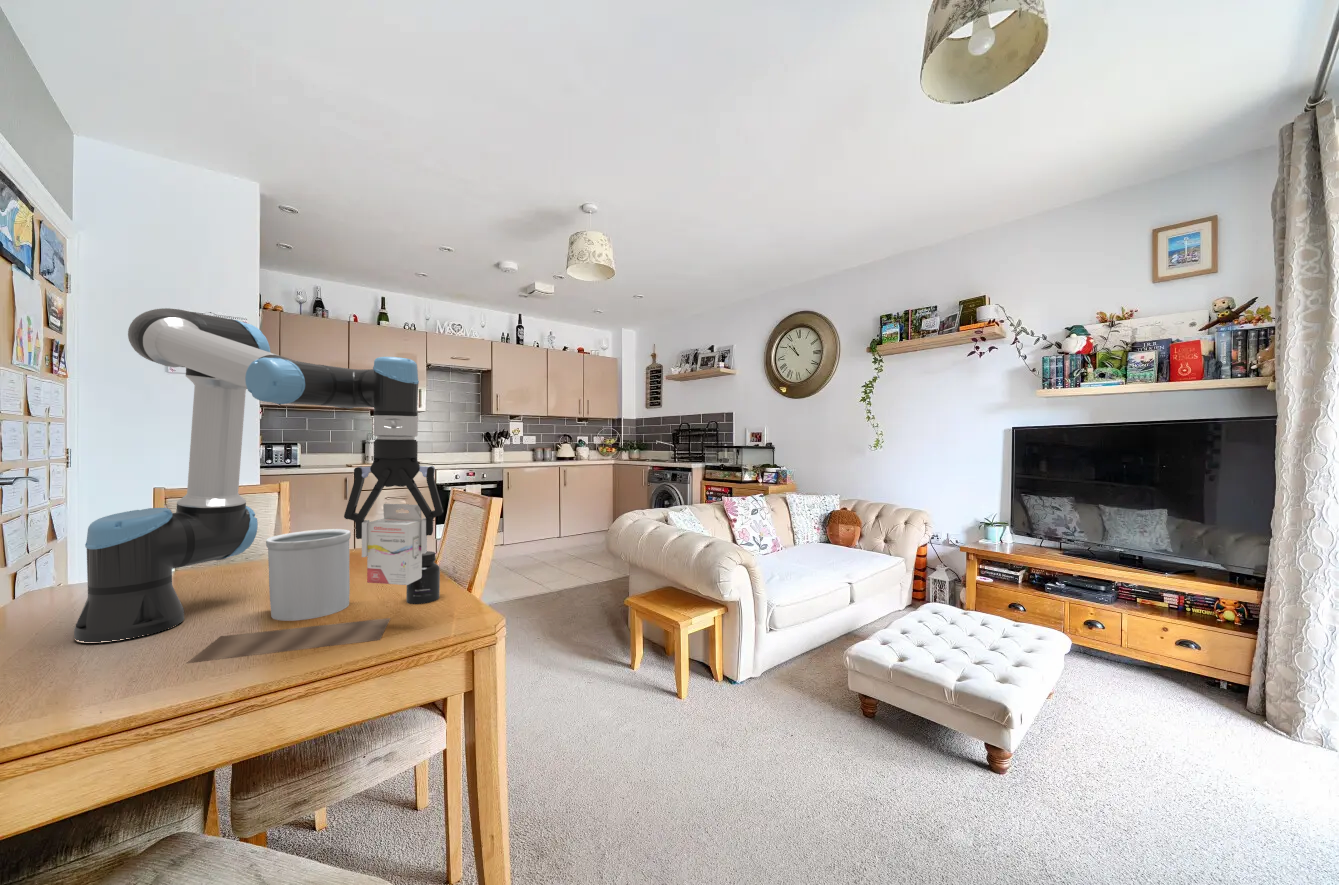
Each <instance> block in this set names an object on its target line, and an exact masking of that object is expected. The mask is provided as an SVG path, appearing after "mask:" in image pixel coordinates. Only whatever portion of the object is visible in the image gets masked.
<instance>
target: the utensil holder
mask: <svg viewBox="0 0 1339 885" xmlns="http://www.w3.org/2000/svg"><path fill="white" fill-rule="evenodd" d="M350 539H351V530H349V529H343V528H329V529H328V528H327V529H326V528H325V529H313V530H311V529H310V530H303V531H295V532H288V533H283V534H279V535H274V536H270V537H268V538H266V540H265V545H266V548H267V556H268V558H267V559H268V561H267V562H268V584H269V585H268V587H269V603H270V604H269V606H270V616H271V618H272V619H273V620H276V621H284V622H285V621H286V622H287V621H288V622H291V621H292V622H294V621H304V620H311V619H316V618H318V619H319V618H321V617H326V616H329V615H333V614H336V613H338V612H341V611H343V610H345V609H346V608H348V607H349V605H350V594H351V593H350V592H351V591H350V590H351V589H350Z"/></svg>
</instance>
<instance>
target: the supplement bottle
mask: <svg viewBox="0 0 1339 885" xmlns="http://www.w3.org/2000/svg"><path fill="white" fill-rule="evenodd" d="M435 561H436V552H435V551H429V550H427V551H426V553H424V554H422V577H421V579H419V580H417V581H415V582H413V583H411V584H409V585H406V603H407V604H410V605H424V604H425V605H426V604H429V603H433V602H436V601H438V600H439V599H440V593H441V592H440V587H441V584H440V582H441V580H440V579H441V577H440V576H441V575H440V574H441V568H440V565H439V564H437V563H436V562H435Z"/></svg>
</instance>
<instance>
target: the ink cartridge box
mask: <svg viewBox="0 0 1339 885" xmlns="http://www.w3.org/2000/svg"><path fill="white" fill-rule="evenodd" d="M382 508H383V518H380V519H377V520H373V521H369V522H368V556H367V557H366V558H367V562H366V563H367V564H366V565H367V566H366V570H367V572H366V577H367V578H366V582H367V583H369V584H370V583H371V584H385V585H399V586H407V585H409V584H411V583H413V582H415V581H417V580H419V579H421V577H422V554H421V525H422V519H423V518H422V511H421V509H420V507H419V506H418V504H410V503H409V504H407V503H405V504H404V503H387V502H386V503H383V505H382ZM402 509H403V510H404V511H408V512H397V510H398V511H399V510H402Z"/></svg>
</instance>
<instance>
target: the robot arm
mask: <svg viewBox="0 0 1339 885" xmlns="http://www.w3.org/2000/svg"><path fill="white" fill-rule="evenodd" d="M127 339H128V342H129V343H130V346H131V347H132V348H133V350H134V352H136V353H137V354H138V355H140V357H143V358H145V360H147V361H150V362H154V363H156V364H159V365H162V366H166V367H170V368H185V377H186V378H187V379H188V380H189V381H190V382H191V383H193V385H194V389H193V404H192V417H191V432H190V444H189V447H190V448H189V457H188V458H189V460H188V476H187V488H186V494H185V495H184V496H183V497H181V498H179V499H178V500H176V512H172V511H171V510H172V509H170V508H167V507H152V508H151V507H150V508H149V507H148V508H143V509H134V510H130V511H127V510H126V511H123V512H117V513H113V514H110V515H105V516H102V517H99V518H97V519H95V520H94V521H92V522H91V523H90V524H89V526H88V528H87V532H86V533H87V534H86V542H85V544H84V545H85V548H86V567H87V568H86V572H87V574H86V577H87V579H86V580H87V598H86V600H85V603H84V605H83V608H82V610H81V612H80V615H79V617H78V619H77V621H76V623H75V626H74V628H73V629H74V630H73V632H74V635H73V639H74V638H75V639H76V640H79V641H84V642H101V641H112V640H120V639H126V638H133V637H138V636H142V635H147V634H151V635H153V634H152V633H155V634H157V633H156V632H158V633H160V632H159V631H162V630H165V629H168V628H170V629H172V628H171V627H173V626H175V625H177V626H178V624H179V623H181V622H182V621H183V620H185V610H184V609H185V608H184V607H183V604H182V603H181V600H180V598H179V596H178V594H177V592H176V589H175V587H174V586H173V570H174V569H179V568H184V567H188V566H193V565H197V564H203V563H208V562H212V561H213V562H214V561H223V560H225V559H227V558H230V557H234V556H238V555H241V554H244V553H245V551H246V550H248V549H250V547H251V545H252V544H253V543H254V541H255V539H256V537H257V533H258V528H259V527H258V524H259V523H258V518H257V517H255V516H256V513H255V511H254V509H252V508H251V507H250V506H248V505H247V499H245V498H244V497H243V496H242V495H241V494H240V493H239V488H240V487H239V485H240V474H241V457H242V446H243V431H244V421H245V420H244V418H245V408H246V407H245V406H246V393H247V392H249V393H251V395H252V397H253V398H254V399H256V400H257V401H260V402H264V403H265V402H267V403H272V404H276V405H286V404H289V405H309V406H322V407H323V406H325V407H326V406H327V407H335V408H339V409H353V408H354V409H355V408H357V409H358V408H360V409H361V408H373V436H375V437H376V439H374V440H373V462H372V464H371V465H370V466H356V467H355V468H354V469H353V474H354V481H353V485H352V488H351V491H350V494H349V498H348V501H347V505H346V508H345V512H344V514H343V517H344V519H345V520H350V521H353V522H354V523H355V539H357V540H360V539H361V558H367V556H368V522H370V520H369V519H367V520H365V519H366V517H367V515H368V513H369V512H370V511H371V510H372V508H373V506H374V504H375V503H376V500H377V499H378V497H379V495H380V494H381V493H382V491H383V489H384V487H385V488H390V487H392V488H393V487H399V488H400V487H401V488H402V487H406V488H407V490H408V491H409V492H410V494H411V496H412V497H413V499H414V501H415V502H416V505H418V506H419V507H420V509H421V513H422V514H423V516H424V517H422V518H421V519H422V525H421V554H424V553H426V551H428V536H432V535H433V533H434V518H437V517H441V516H442V515H443V513H444V508H443V505H442V501H441V498H440V494H439V490H438V487H437V483H436V480H435V472H436V471H435V470H436V468H435V466H433V465H431V466H425V465H420V463H419V461H418V460H419V459H418V451H419V450H418V449H419V448H418V447H419V446H418V444H419V443H418V441H417V439H415V437H418V434H419V433H418V428H419V426H418V424H419V423H418V422H419V420H418V418H419V415H418V404H419V403H418V402H419V401H418V400H419V399H418V397H419V396H418V395H419V394H418V393H419V384H420V380H419V373H418V372H419V371H418V364H417V362H416V361H415V360H414V359H411V358H406V357H399V356H398V357H396V356H380V357H379V356H378V357H376V358H375V359H374V360H373V367H372V369H362V368H360V369H357V368H356V369H353V368H346V367H340V366H332V365H326V364H315V363H310V362H304V361H299V360H295V359H292V358H289V357H284V356H281V355H279V354H276V353H273V352H271V347H270V344H269V341H268V339H267V337H266V335H264V334H263V331H262V330H261V329H260V328H258V327H257V326H255V325H253V324H250V323H247V322H244V321H239V320H237V319H233V318H226V317H220V316H216V315H209V314H205V313H204V314H203V313H199V312H193V311H189V310H184V309H180V308H179V309H178V308H170V307H168V308H166V307H165V308H162V307H161V308H155V309H151V310H147V311H145V312H143V313H141V314H139V315H137V316H136V317H135V318H133V319H132V322H130V324H129V327H128V330H127ZM246 391H247V392H246ZM419 472H420V473H422V474H421V475H422V477H424V478H426V483H427V484H426V485H427V487H428V491H429V494H430V498H431V502H432V505H433V508H434V510H432V509H431V508H430V505H429V504H428V502H427V500H426V499H425V497H424V495H423V493H422V492H421V490H420V489H419V487H418V485H417V483H416V481H415V480H414V478H415V477H416V476H417V475H418V474H419ZM370 473H372V474H373V476H374V477H375V478H376V480H377V481H376V483H375V484H374V486H373V489H372V490H371V491H370V493H369V495H368V497H367V499H366V500H365V502H364V503H363V505H362V506H361V508H360V509H359V511H358V512H356V510H357V507H358V503H359V500H360V497H361V493H362V490H363V486H364V484H365V479H366V478H368V477H369V474H370ZM183 622H184V621H183ZM183 622H182V623H183ZM182 623H181V624H182ZM179 625H180V624H179ZM175 627H176V626H175ZM173 628H174V627H173ZM168 630H169V629H168ZM165 631H166V630H165ZM162 632H163V631H162ZM147 636H148V635H147Z"/></svg>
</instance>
